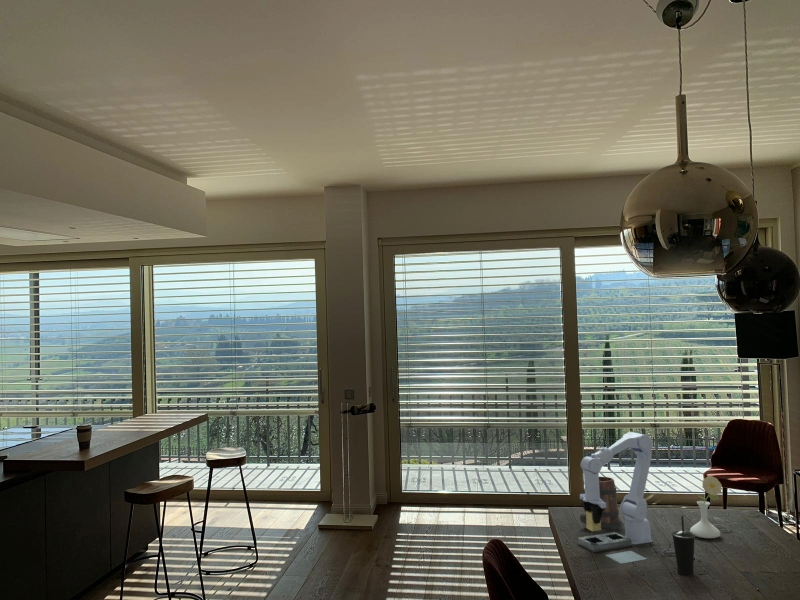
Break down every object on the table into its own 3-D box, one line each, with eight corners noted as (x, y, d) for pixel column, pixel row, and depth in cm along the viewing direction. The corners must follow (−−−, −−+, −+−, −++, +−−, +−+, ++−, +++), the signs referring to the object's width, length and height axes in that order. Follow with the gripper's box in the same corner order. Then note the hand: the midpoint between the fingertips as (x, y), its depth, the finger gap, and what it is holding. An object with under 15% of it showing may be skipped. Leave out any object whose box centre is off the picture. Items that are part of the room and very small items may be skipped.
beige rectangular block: (594, 527, 236) (594, 509, 237) (601, 530, 233) (600, 512, 233) (586, 528, 235) (585, 510, 236) (592, 531, 231) (591, 513, 232)
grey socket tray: (615, 539, 243) (614, 531, 243) (631, 547, 233) (631, 539, 233) (578, 545, 237) (577, 537, 237) (593, 553, 228) (593, 545, 228)
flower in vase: (691, 539, 240) (687, 477, 242) (689, 530, 251) (685, 471, 252) (727, 542, 235) (723, 479, 237) (723, 533, 246) (719, 473, 247)
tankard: (600, 515, 275) (598, 472, 276) (632, 524, 261) (629, 479, 262) (567, 525, 262) (565, 480, 264) (598, 535, 248) (596, 487, 249)
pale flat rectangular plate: (630, 552, 228) (630, 550, 228) (647, 560, 219) (647, 558, 219) (605, 556, 224) (605, 555, 224) (621, 565, 215) (620, 563, 215)
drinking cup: (688, 579, 202) (684, 520, 203) (669, 571, 208) (665, 514, 210) (702, 574, 205) (698, 516, 206) (683, 567, 212) (679, 511, 213)
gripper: (572, 484, 241) (574, 517, 240) (594, 492, 227) (596, 528, 226) (587, 482, 243) (588, 515, 242) (609, 490, 229) (611, 526, 228)
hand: (593, 521), depth 234 cm, fingers closed on beige rectangular block, 4 cm apart
